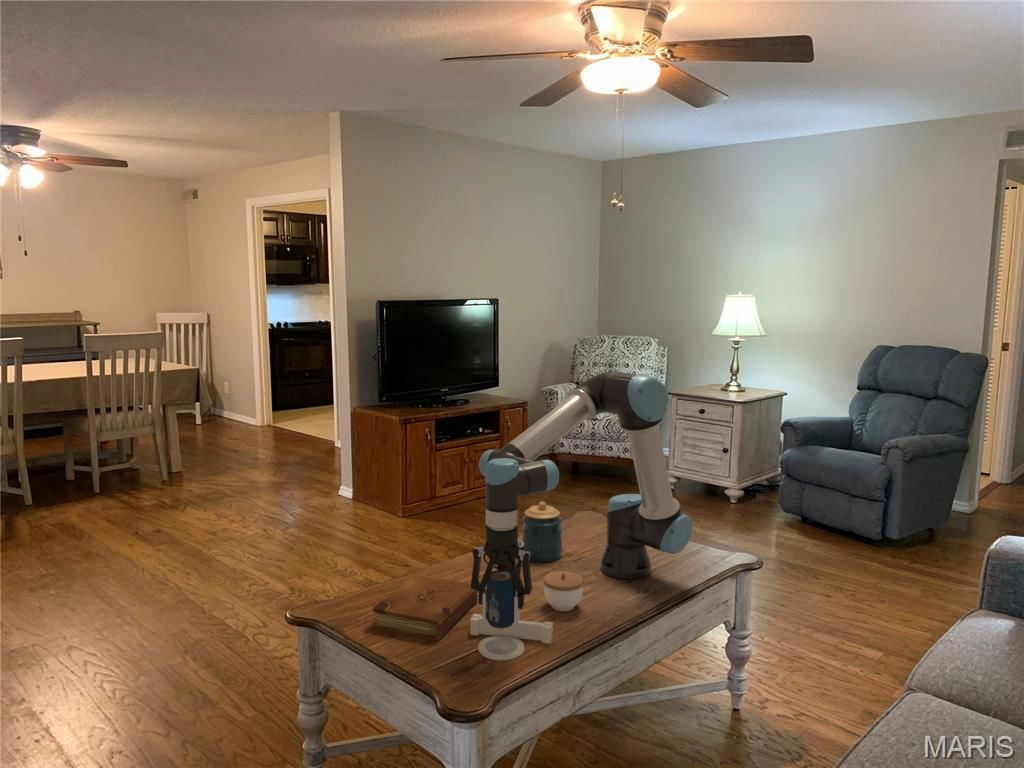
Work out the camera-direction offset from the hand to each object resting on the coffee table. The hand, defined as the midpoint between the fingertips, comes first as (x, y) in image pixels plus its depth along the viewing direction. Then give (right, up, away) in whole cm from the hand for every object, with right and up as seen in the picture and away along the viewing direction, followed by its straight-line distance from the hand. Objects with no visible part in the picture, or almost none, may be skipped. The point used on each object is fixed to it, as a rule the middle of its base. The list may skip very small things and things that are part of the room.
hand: (501, 618), depth 170 cm
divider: (+2, -7, +7) cm, 10 cm away
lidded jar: (+16, -5, +24) cm, 29 cm away
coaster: (0, -7, +1) cm, 8 cm away
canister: (+12, +1, +60) cm, 62 cm away
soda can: (0, -1, 0) cm, 1 cm away
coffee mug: (0, -2, +44) cm, 44 cm away
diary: (-20, -6, +19) cm, 28 cm away
